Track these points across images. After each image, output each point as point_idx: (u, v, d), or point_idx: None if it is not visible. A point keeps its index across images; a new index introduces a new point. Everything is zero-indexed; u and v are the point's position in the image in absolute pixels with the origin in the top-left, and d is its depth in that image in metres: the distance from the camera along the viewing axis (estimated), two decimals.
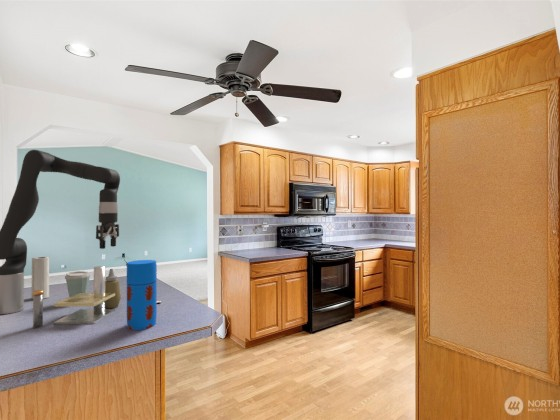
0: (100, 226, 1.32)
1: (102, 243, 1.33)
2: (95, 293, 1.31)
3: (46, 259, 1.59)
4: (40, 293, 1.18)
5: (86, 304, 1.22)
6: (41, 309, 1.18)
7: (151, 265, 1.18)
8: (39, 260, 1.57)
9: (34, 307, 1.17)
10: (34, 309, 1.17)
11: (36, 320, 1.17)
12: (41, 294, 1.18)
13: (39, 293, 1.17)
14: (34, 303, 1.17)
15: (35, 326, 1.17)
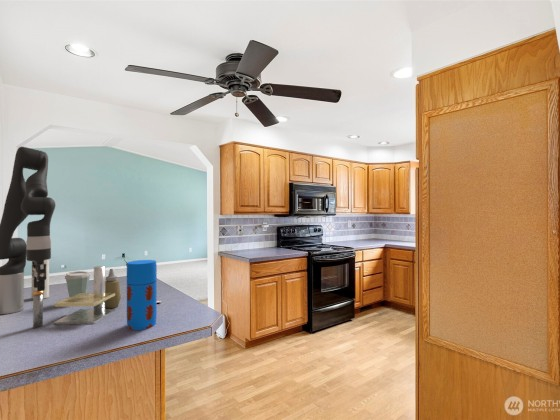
0: None
1: None
2: (95, 293, 1.31)
3: None
4: (40, 293, 1.18)
5: (86, 304, 1.22)
6: (41, 309, 1.18)
7: (151, 265, 1.18)
8: None
9: (34, 307, 1.17)
10: (34, 309, 1.17)
11: (36, 320, 1.17)
12: (41, 294, 1.18)
13: (39, 293, 1.17)
14: (34, 303, 1.17)
15: (35, 326, 1.17)
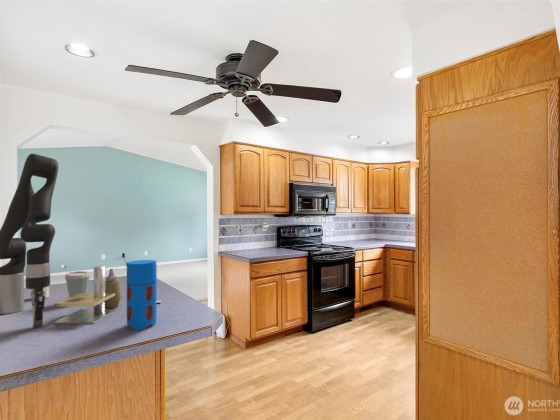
0: None
1: None
2: (95, 293, 1.31)
3: None
4: None
5: (86, 304, 1.22)
6: None
7: (151, 265, 1.18)
8: None
9: (34, 307, 1.17)
10: None
11: None
12: None
13: None
14: None
15: (35, 326, 1.17)
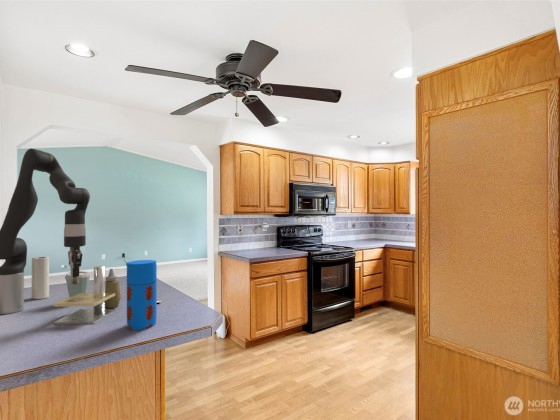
0: None
1: None
2: (95, 293, 1.31)
3: (46, 259, 1.59)
4: None
5: (86, 304, 1.22)
6: None
7: (151, 265, 1.18)
8: (39, 260, 1.57)
9: None
10: None
11: None
12: None
13: None
14: None
15: (73, 282, 1.25)
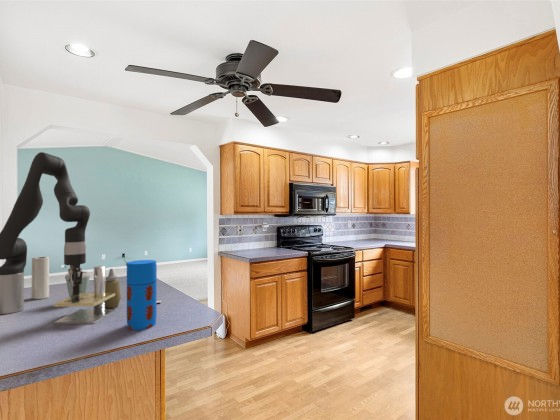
0: None
1: None
2: (95, 293, 1.31)
3: (46, 259, 1.59)
4: None
5: (86, 304, 1.22)
6: None
7: (151, 265, 1.18)
8: (39, 260, 1.57)
9: (72, 282, 1.25)
10: None
11: None
12: None
13: None
14: None
15: (73, 300, 1.25)
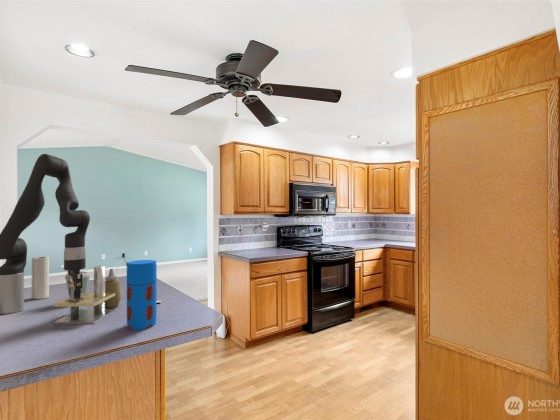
0: None
1: None
2: (95, 293, 1.31)
3: (46, 259, 1.59)
4: None
5: (86, 304, 1.22)
6: None
7: (151, 265, 1.18)
8: (39, 260, 1.57)
9: (71, 299, 1.25)
10: (71, 301, 1.25)
11: (73, 311, 1.25)
12: None
13: None
14: (72, 295, 1.25)
15: (72, 316, 1.25)
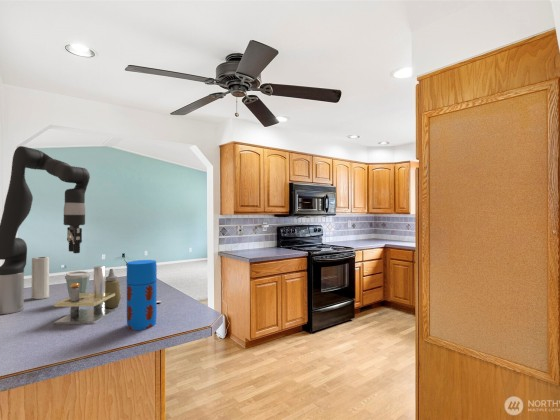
0: None
1: None
2: (95, 293, 1.31)
3: (46, 259, 1.59)
4: (77, 286, 1.26)
5: (86, 304, 1.22)
6: None
7: (151, 265, 1.18)
8: (39, 260, 1.57)
9: (71, 299, 1.25)
10: (71, 301, 1.25)
11: (73, 311, 1.25)
12: (78, 287, 1.27)
13: (76, 286, 1.26)
14: (72, 295, 1.25)
15: (72, 316, 1.25)
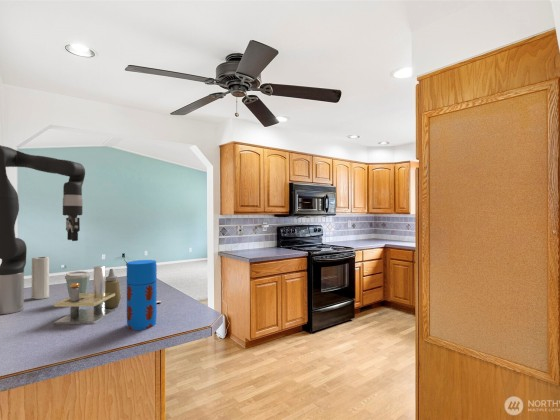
0: None
1: None
2: (95, 293, 1.31)
3: (46, 259, 1.59)
4: (77, 286, 1.26)
5: (86, 304, 1.22)
6: None
7: (151, 265, 1.18)
8: (39, 260, 1.57)
9: (71, 299, 1.25)
10: (71, 301, 1.25)
11: (73, 311, 1.25)
12: (78, 287, 1.26)
13: (76, 286, 1.26)
14: (72, 295, 1.25)
15: (72, 316, 1.25)
